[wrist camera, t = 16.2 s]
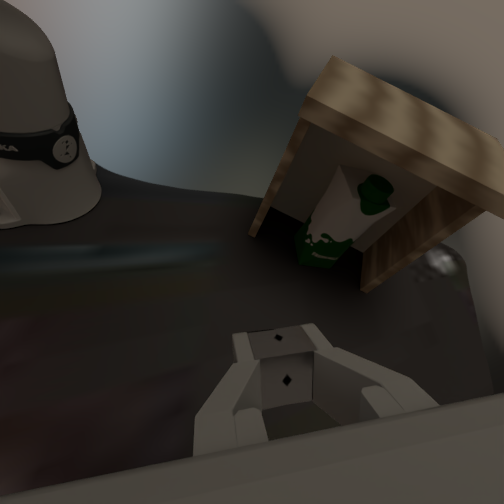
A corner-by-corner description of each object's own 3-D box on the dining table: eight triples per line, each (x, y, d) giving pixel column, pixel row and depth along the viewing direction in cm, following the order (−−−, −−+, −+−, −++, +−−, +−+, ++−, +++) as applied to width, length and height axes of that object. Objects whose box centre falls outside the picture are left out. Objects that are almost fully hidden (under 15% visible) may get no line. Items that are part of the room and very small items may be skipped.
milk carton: (294, 268, 49) (359, 188, 33) (288, 231, 54) (342, 148, 39) (335, 273, 51) (413, 201, 36) (325, 237, 56) (390, 161, 41)
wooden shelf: (236, 256, 46) (306, 95, 25) (266, 199, 58) (332, 55, 36) (364, 319, 47) (545, 216, 25) (369, 250, 58) (496, 138, 36)
